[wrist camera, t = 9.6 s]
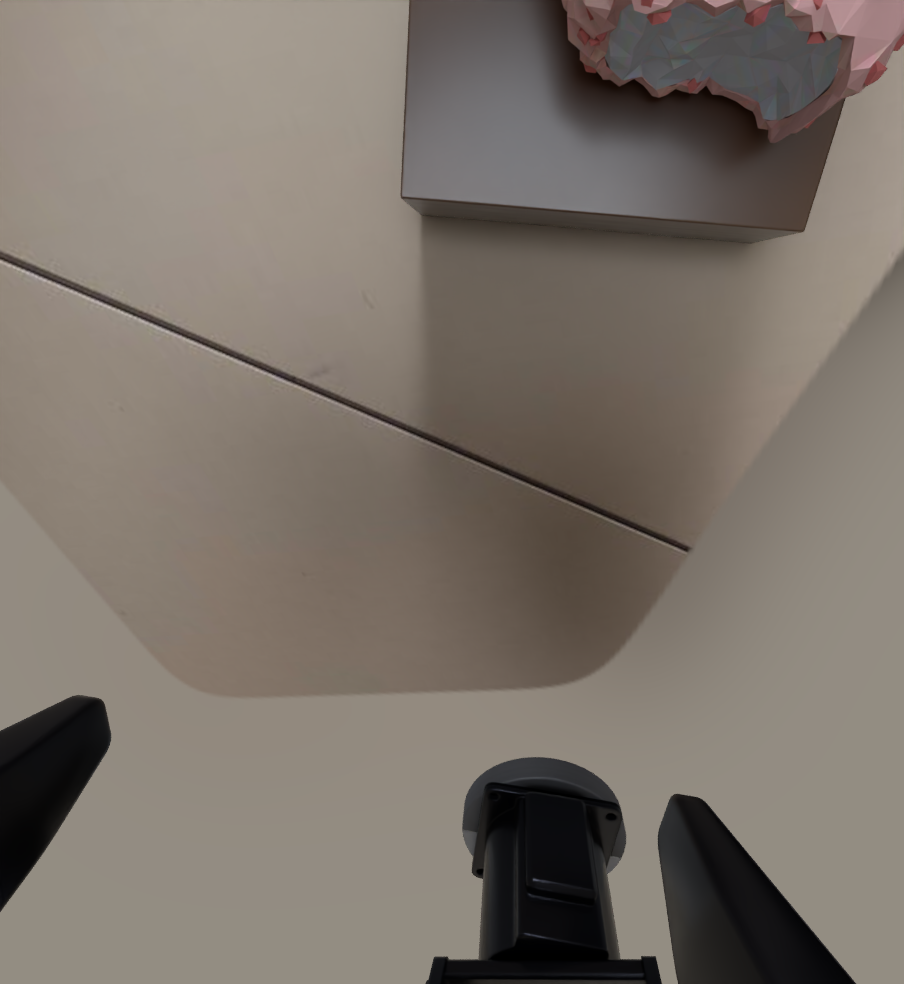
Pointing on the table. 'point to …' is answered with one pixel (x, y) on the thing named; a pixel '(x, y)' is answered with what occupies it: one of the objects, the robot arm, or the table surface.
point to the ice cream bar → (742, 50)
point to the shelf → (585, 136)
